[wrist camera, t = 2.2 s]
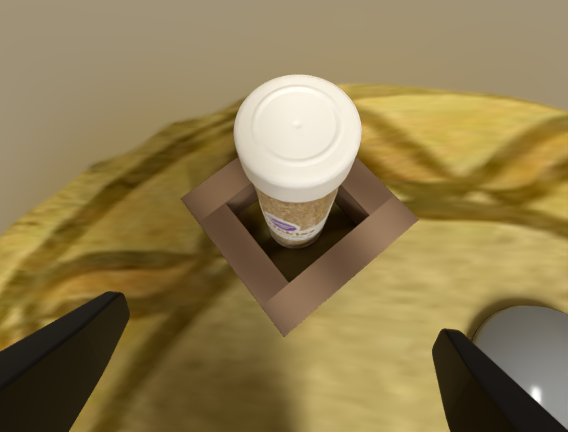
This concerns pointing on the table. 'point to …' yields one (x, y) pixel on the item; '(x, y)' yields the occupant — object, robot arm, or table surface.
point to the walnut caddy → (324, 271)
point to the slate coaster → (531, 352)
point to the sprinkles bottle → (297, 152)
